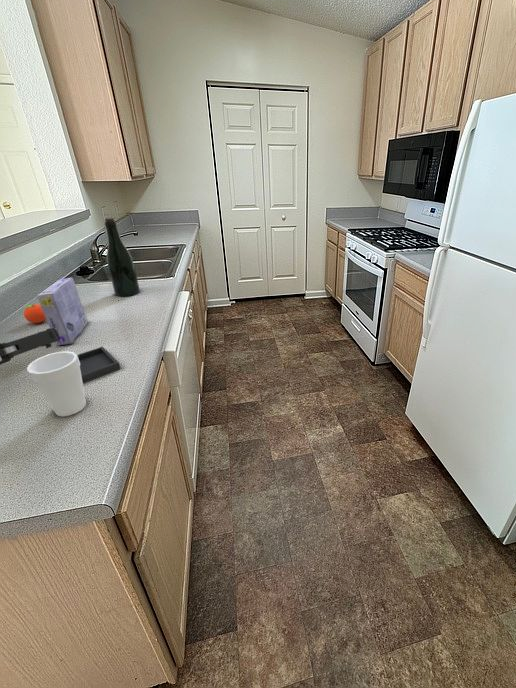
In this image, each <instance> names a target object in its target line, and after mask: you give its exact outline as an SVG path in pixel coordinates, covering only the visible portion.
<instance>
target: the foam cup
mask: <svg viewBox="0 0 516 688" xmlns="http://www.w3.org/2000/svg"><path fill="white" fill-rule="evenodd" d="M77 355H78V354H76V352H73V351H68V350H67V351H56V352H52V353H49V354H46V355H45V354H44V355H43V356H40V357H38V358H36V359H34V360H33V361H32V362H30V363H29V364H28V365H27V367H26V370H27V373H28V375H29V377H30V379H31V381H32V382H34V384H35V385H36V387H37V388H38V389H39V391H40V393H42V395H43V397H44V398H45V400H46V401H47V403H48V404H49V406H50V407H51V408H52V410H53V412H54V413H55V414H56V416H59V417H69V416H72V415H75V414H77V413H79V412H81V411H82V410H83V409H84V408H85V407H86V406H87V405H86V404H87V401H86V400H87V399H86V394H85V393H86V392H85V388H84V383H83V382H82V376H81V370H80V361H79V359H78V356H77Z"/></svg>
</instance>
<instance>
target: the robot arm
mask: <svg viewBox="0 0 516 688" xmlns="http://www.w3.org/2000/svg"><path fill="white" fill-rule="evenodd" d="M58 340H61V339H60V337H59V336H58V334H57V332H56V330H55V328H50V327H48V328H46V330H42V331H38V332H35V333H33V334H29V335H26V336H24V337H21V338H17V339H13V340H11V341H9V342H2V343H0V358H1V360H0V365H3V364H6V363H8V362H10V361H11V360H12V359H13V358H14V357H16V356H18V355H21V354H24V353H27V352H29V351H32V350H35V349H37V348H40V347H41V348H42V347H46V349H50V348H52V347H53V345H52V344H53V343H56V341H58Z"/></svg>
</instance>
